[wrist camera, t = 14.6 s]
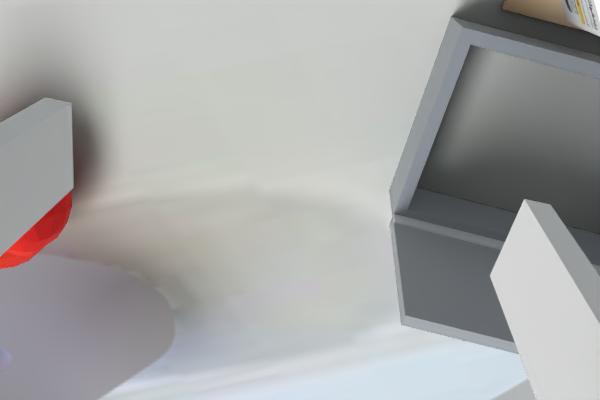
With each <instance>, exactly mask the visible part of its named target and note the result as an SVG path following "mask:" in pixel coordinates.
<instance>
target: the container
mask: <svg viewBox="0 0 600 400" xmlns="http://www.w3.org/2000/svg"><path fill="white" fill-rule="evenodd" d="M560 1H561V4H562V8H563V11H564V14H565V17H566V20H567V22H568V23H571V24H573V25H575V26H577V27H579V28H582V29H584V30H586V31H588V32H590V33H593V34H595V35H597V36H599V37H600V0H560Z"/></svg>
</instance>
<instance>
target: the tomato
mask: <svg viewBox="0 0 600 400" xmlns="http://www.w3.org/2000/svg"><path fill="white" fill-rule="evenodd" d="M71 207H72V197H71V191H70V192H69V193H67V194H66V195H65V196H64V197H63V198H62V199H61V200H60V201H59V202H58V203H57V204H56V205H55V206H54V207H53V208H52V209H50V210H49V211H48V212H47V213H46V214H45V215H44V216H43V217H42V218H41V219H40V220H39V221H38V222H37V223H36V224H34V225H33V226H32V227H31V228H30V229H29V230H28V231H27V232H26V233H25V234H24V235H23V236H22V237H21V238H20V239H18V240H17V241H16V242H15V243H14V244H13V245H12V246H11V247H10V248H9V249H8V250H7V251H6V252H5V253H4V254H2V255H1V256H0V269H2V268H8V267H14V266H17V265H19V264H22V263H24V262H26V261H29V260H30V259H31V258H32V257H33V256H35V255H36V254H37V253H38V252H39V251H40V250H41V249H43V248H44V247H45V246H46V245H47V244H48V243H50V242H51V241H53V240H54V239H56V238H57V237H58V235H59V234H60V233H61V231H62V230H63V228H64V226H65V225H66V223H67V221H68V218H69V214H70V210H71Z"/></svg>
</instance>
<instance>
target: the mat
mask: <svg viewBox="0 0 600 400" xmlns="http://www.w3.org/2000/svg"><path fill="white" fill-rule="evenodd" d="M502 9H503V10H507V11H511V12H515V13H519V14H522V15H526V16H530V17H534V18H538V19H541V20H545V21H549V22H553V23H557V24H560V25H564V26H568V27H572V28H575V29H579V30H583V31H586V30H584V29H582V28H579V27H577V26H575V25H573V24H571V23H568V22H567V20H566V17H565V14H564V11H563V8H562V4H561V1H560V0H504V3H503V5H502ZM587 32H588V31H587Z"/></svg>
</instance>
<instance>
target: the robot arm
mask: <svg viewBox="0 0 600 400" xmlns="http://www.w3.org/2000/svg"><path fill="white" fill-rule="evenodd" d="M73 188H74V180H73V137H72V103H70V102H65V101H61V100H56V99H51V98H46V97H45V98H43V99H41V100H39V101H38V102H36V103H34V104H32V105H31V106H29V107H27V108H25V109H23V110H22V111H20V112H18V113H16V114H15V115H13V116H11V117H9V118H7V119H6V120H4V121H2V122H0V256H1V255H2V254H4V253H5V252H6V251H7V250H8V249H9V248H10V247H11V246H12V245H13V244H14V243H15V242H16V241H17V240H18V239H20V238H21V237H22V236H23V235H24V234H25V233H26V232H27V231H28V230H29V229H30V228H31V227H32V226H33V225H34V224H36V223H37V222H38V221H39V220H40V219H41V218H42V217H43V216H44V215H45V214H46V213H47V212H48V211H49V210H50V209H52V208H53V207H54V206H55V205H56V204H57V203H58V202H59V201H60V200H61V199H62V198H63V197H64V196H65V195H66V194H67V193H69V192H70V191H71V190H72V189H73ZM490 278H491V280H492V283H493V286H494V288H495V291H496V294H497V296H498V299H499V302H500V304H501V307H502V310H503V312H504V315H505V318H506V320H507V323H508V326H509V328H510V331H511V334H512V336H513V339H514V342H515V344H516V347H517V350H518V352H519V355H520V358H521V360H522V363H523V366H524V368H525V371H526V374H527V376H528V379H529V382H530V384H531V387H532V390H533V392H534V395H535V398H536V400H600V276H599V274H598V273H597V272H596V270H595V269H594V267H593V266H592V264H591V263H590V261H589V260H588V258H587V257H586V255H585V254H584V253H583V251H582V250H581V248H580V247H579V245H578V244H577V242H576V241H575V239H574V238H573V237H572V235H571V234H570V232H569V231H568V229H567V228H566V226H565V225H564V223H563V222H562V220H561V219H560V218H559V216H558V215H557V213H556V212H555V210H554V209H553V207H552V206H551V204H546V203H541V202H537V201H532V200H527V199H524V200H523V203H522V205H521V207H520V209H519V212H518V214H517V216H516V218H515V221H514V223H513V225H512V227H511V229H510V232H509V234H508V236H507V238H506V241H505V243H504V245H503V247H502V250H501V252H500V254H499V256H498V259H497V261H496V263H495V265H494V267H493V270H492V272H491V274H490Z"/></svg>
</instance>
